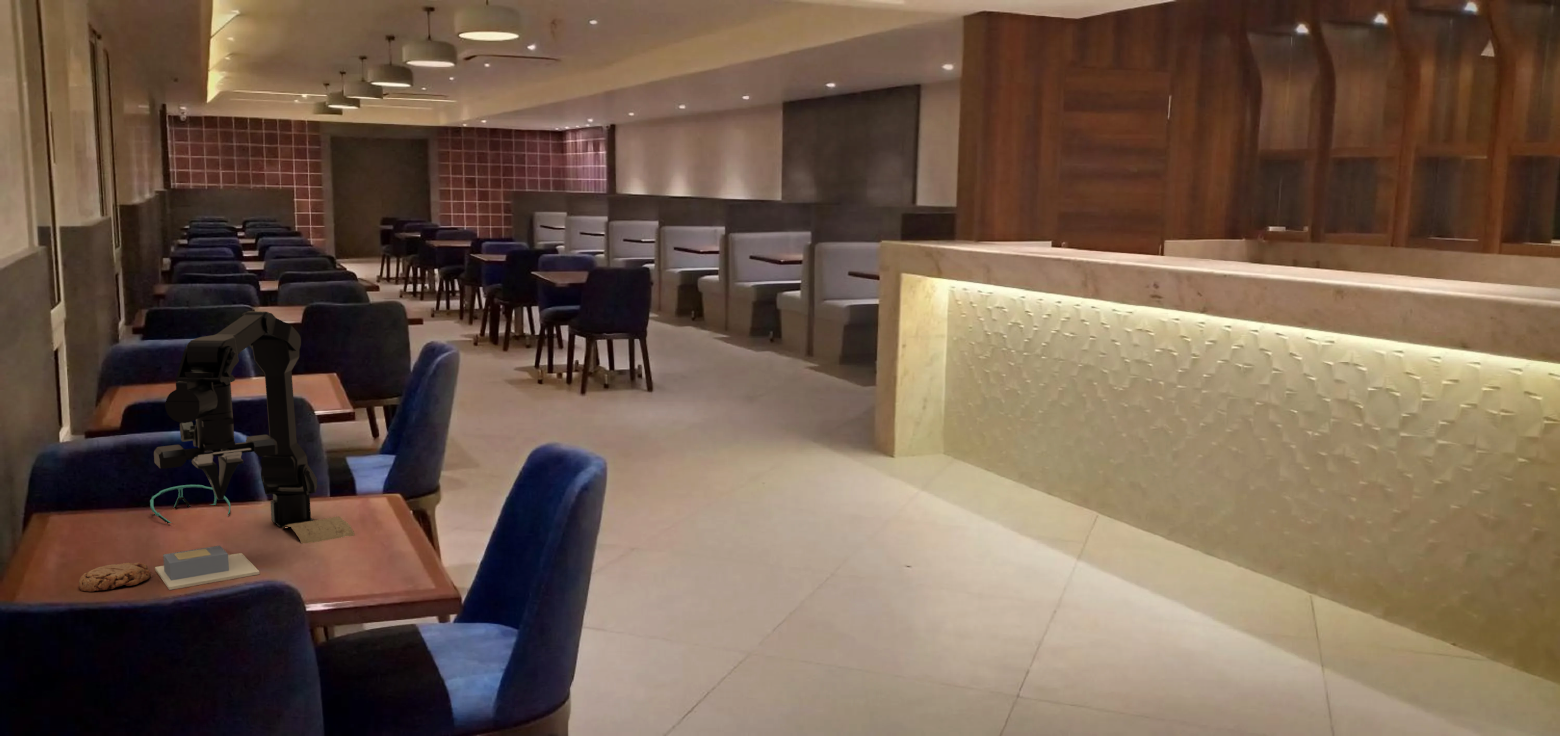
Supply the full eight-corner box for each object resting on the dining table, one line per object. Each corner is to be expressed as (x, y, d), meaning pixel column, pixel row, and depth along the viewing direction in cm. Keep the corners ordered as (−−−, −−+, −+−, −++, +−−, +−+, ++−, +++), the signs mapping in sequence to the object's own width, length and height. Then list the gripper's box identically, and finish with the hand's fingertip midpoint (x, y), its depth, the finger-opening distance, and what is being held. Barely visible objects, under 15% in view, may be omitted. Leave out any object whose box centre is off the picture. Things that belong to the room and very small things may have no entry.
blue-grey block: (220, 544, 203) (163, 553, 197) (228, 553, 198) (169, 562, 193) (221, 561, 203) (164, 571, 198) (229, 570, 199) (171, 580, 193)
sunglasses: (216, 502, 246) (215, 480, 245) (239, 523, 235) (238, 500, 234) (143, 513, 237) (142, 490, 235) (163, 536, 226) (162, 512, 225)
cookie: (65, 589, 191) (64, 572, 190) (124, 570, 200) (122, 554, 200) (106, 597, 187) (105, 580, 186) (164, 578, 196) (163, 561, 196)
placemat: (241, 555, 209) (241, 552, 208) (259, 573, 198) (259, 571, 198) (155, 569, 200) (154, 566, 200) (169, 589, 190) (169, 586, 190)
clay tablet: (356, 538, 222) (356, 525, 221) (302, 548, 215) (302, 534, 215) (331, 522, 233) (330, 509, 232) (279, 531, 226) (278, 518, 226)
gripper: (259, 399, 210) (264, 481, 213) (145, 410, 199) (151, 497, 201) (276, 408, 202) (281, 494, 204) (157, 420, 190) (164, 511, 193)
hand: (220, 499), depth 201 cm, fingers closed
